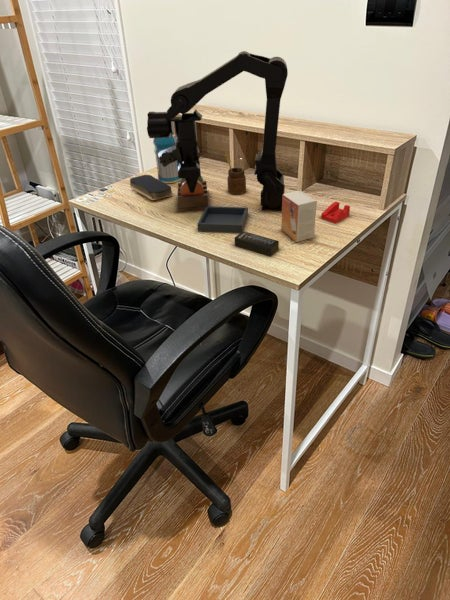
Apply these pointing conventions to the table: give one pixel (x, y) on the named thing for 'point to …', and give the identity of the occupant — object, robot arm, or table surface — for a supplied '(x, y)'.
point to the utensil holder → (236, 178)
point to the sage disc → (198, 180)
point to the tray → (223, 219)
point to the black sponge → (150, 187)
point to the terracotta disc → (185, 191)
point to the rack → (192, 200)
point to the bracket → (335, 213)
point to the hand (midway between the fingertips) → (192, 190)
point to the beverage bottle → (171, 170)
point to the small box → (298, 215)
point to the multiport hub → (256, 243)
